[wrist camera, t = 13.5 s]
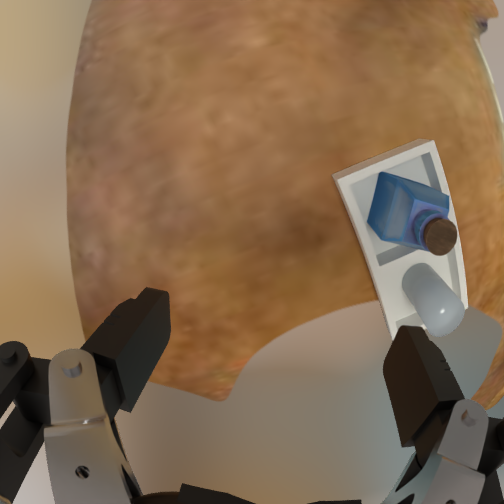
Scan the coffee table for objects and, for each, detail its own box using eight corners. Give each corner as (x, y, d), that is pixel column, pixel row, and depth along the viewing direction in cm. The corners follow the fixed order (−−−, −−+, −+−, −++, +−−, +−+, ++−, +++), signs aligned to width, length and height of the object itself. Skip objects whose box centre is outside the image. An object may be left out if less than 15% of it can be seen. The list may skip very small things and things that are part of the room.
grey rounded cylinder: (405, 262, 34) (434, 299, 25) (437, 263, 33) (470, 297, 25) (398, 296, 36) (421, 338, 27) (429, 296, 35) (456, 335, 27)
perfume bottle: (425, 184, 30) (479, 211, 19) (411, 232, 32) (456, 277, 21) (379, 170, 30) (422, 191, 19) (366, 221, 33) (399, 265, 22)
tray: (331, 174, 32) (336, 179, 28) (419, 138, 29) (433, 140, 25) (386, 325, 39) (393, 342, 35) (456, 293, 35) (468, 307, 32)
